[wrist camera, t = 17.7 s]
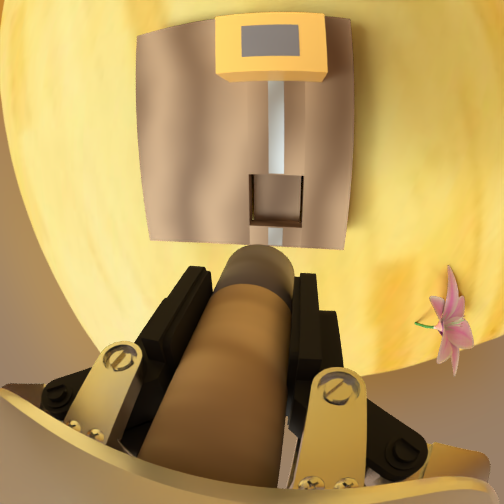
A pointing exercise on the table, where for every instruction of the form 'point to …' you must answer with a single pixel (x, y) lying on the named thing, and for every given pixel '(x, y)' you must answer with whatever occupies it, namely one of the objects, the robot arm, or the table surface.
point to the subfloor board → (243, 144)
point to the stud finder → (271, 47)
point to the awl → (232, 378)
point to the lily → (451, 323)
